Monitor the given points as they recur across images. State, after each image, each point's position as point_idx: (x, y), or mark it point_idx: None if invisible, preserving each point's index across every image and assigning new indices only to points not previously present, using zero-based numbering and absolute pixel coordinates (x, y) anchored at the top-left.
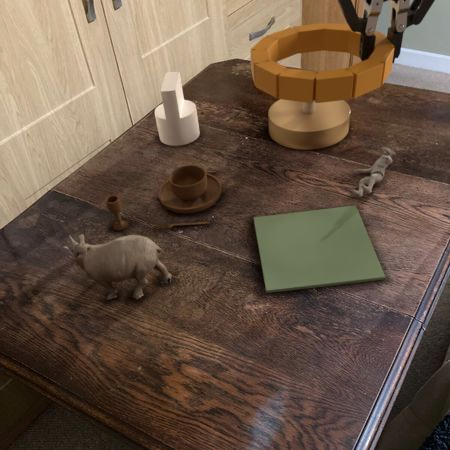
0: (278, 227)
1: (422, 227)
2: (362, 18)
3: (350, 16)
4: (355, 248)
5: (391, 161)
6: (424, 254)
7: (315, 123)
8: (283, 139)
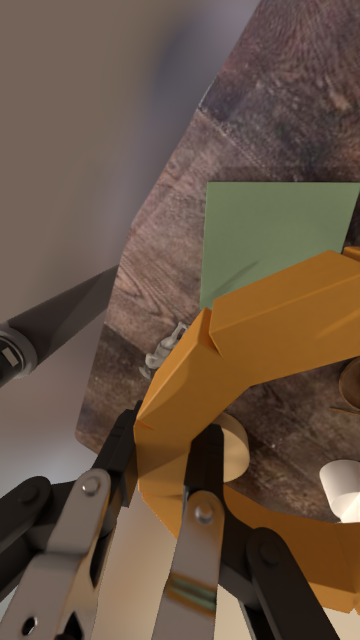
0: None
1: (142, 262)
2: (218, 581)
3: (313, 632)
4: (223, 239)
5: (147, 354)
6: (152, 217)
7: None
8: (240, 428)
